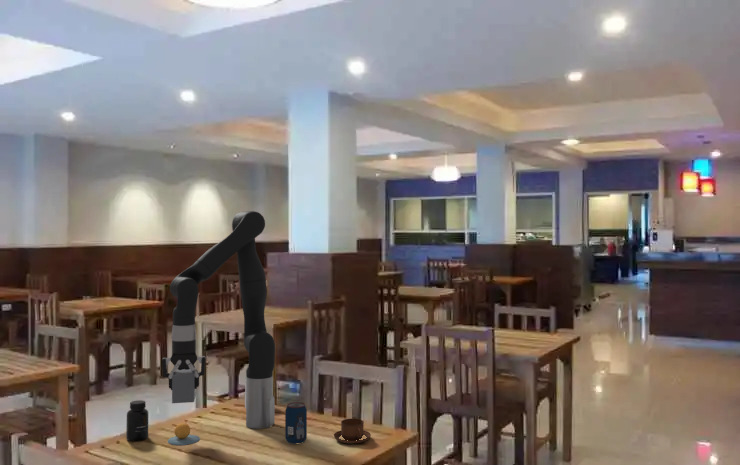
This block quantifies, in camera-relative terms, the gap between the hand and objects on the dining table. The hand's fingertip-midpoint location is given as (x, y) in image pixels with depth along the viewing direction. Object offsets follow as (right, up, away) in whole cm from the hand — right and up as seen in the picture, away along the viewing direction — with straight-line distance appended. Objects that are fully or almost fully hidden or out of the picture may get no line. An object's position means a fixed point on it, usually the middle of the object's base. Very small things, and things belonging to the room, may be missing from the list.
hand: (184, 388), depth 212 cm
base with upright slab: (+17, -17, +39) cm, 46 cm away
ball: (-1, -14, +2) cm, 14 cm away
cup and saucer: (+55, -17, +1) cm, 58 cm away
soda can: (+37, -17, -1) cm, 40 cm away
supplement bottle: (-16, -17, +2) cm, 23 cm away
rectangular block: (0, -3, 0) cm, 3 cm away
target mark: (0, -17, 0) cm, 17 cm away
